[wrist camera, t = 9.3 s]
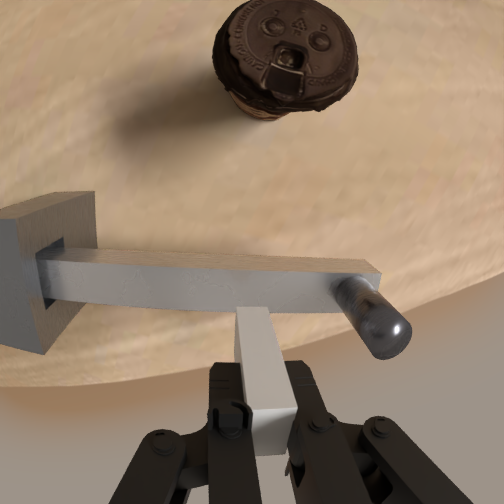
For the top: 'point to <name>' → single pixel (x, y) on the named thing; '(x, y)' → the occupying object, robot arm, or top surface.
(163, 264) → the shaft
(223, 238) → the top surface
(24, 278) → the bearing block
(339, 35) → the coffee cup
